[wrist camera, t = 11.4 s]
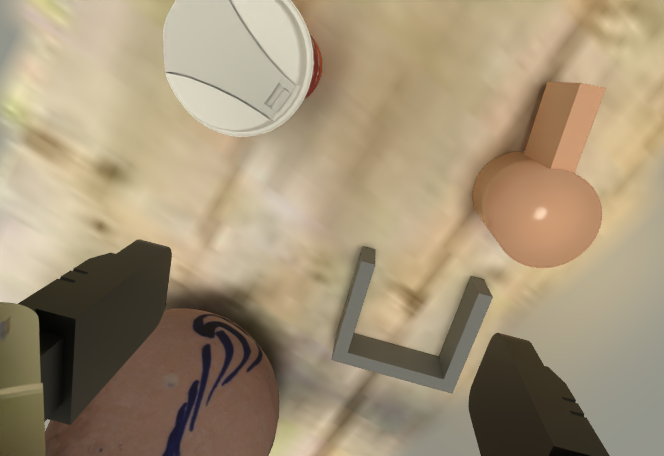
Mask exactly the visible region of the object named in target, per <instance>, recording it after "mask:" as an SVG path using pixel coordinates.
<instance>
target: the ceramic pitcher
mask: <svg viewBox="0 0 664 456" xmlns="http://www.w3.org/2000/svg"><path fill="white" fill-rule="evenodd" d="M278 418H279V391H278V385H277V381H276V377H275V373H274V371H273V368H272V366H271V364H270V362H269V360H268V358H267V356H266V355H265V353H264V352H263V350H262V349H261V347H260V346H259V345H258V344H257V343H256V341H255V340H254V339H253V338H252V337H251V336H250V335H249V334H248V333H247V332H246V331H245V330H243V329H242V328H241V327H240V326H239V325H237V324H235V323H234V322H231V321H230V319H228V318H225V317H223V316H220V315H217V314H214V313H210V312H206V311H201V310H196V309H185V308H177V309H167V310H164V313H163V316H162V318H161V320H160V322H159V324H158V326H157V327H156V329H155V330H154V331H153V332H152V333H151V335H150V336H149V337H148V338H147V339H146V340H145V341H144V342H143V344H142V345H141V346H140V347H139V348H138V349H137V350H136V351H135V353H134V354H133V355H132V356H131V357H130V358H129V359H128V361H127V362H126V363H125V364H124V365H123V366H122V367H121V368H120V370H119V371H118V372H117V373H116V374H115V375H114V376H113V377H112V379H111V380H110V381H109V382H108V383H107V384H106V385H105V386H104V388H103V389H102V390H101V391H100V392H99V393H98V394H97V395H96V397H95V398H94V399H93V400H92V401H91V402H90V403H89V404H88V406H87V407H86V408H85V409H84V410H83V411H82V412H81V413H80V415H79V416H78V417H77V418H76V419H75V420H74V421H73V423H72V424H71V425H68V424H64V423H61V422H57V421H53V420H50V423H49V424H48V427H47V429H46V431H45V451H46V456H268V455H269V453H270V451H271V448H272V446H273V442H274V439H275V434H276V428H277V423H278Z"/></svg>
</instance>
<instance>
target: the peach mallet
mask: <svg viewBox="0 0 664 456" xmlns="http://www.w3.org/2000/svg"><path fill="white" fill-rule="evenodd" d="M605 89H606V88H603V87H598V86H593V85H588V84H583V83H564V82H547V85H546V88H545V91H544V94H543V97H542V100H541V103H540V107H539V110H538V113H537V116H536V119H535V122H534V125H533V128H532V131H531V134H530V137H529V140H528V143H527V146H526V149H525V152H510V153H506V154H503V155H500V156H498V157H497V158H495V159H493V160H492V161H490V162H489V163H488V164H487V165H486V166H485V167H484V168H483V169H482V170H481V172H480V173H479V175H478V177H477V178H476V181H475V184H474V187H473V203H474V207H475V210H476V212H477V214H478V215H479V216H480V218H481V219H482V221H483V222H484V223H485V225H486V226H487V228H488V229H489V230H490V232H491V233H492V235H493V236H494V237H495V239H496V240H497V242H498V243H499V244H500V246H501V247H502V249H503V250H504V251H505V252H506V253H507V255H508V256H510V257H511V258H512V259H514V260H515V261H517V262H519V263H521V264H523V265H526V266H530V267H536V268H549V267H555V266H559V265H562V264H565V263H567V262H570V261H571V260H573V259H575V258H577V257H578V256H579V255H581V254H582V253H583V252H584V251H585V250H586V249H587V248H588V247H589V246H590V245H591V244H592V242H593V241H594V239H595V238H596V236H597V234H598V231H599V228H600V225H601V220H602V207H601V203H600V199H599V197H598V195H597V193H596V191H595V190H594V188H593V187H592V186H591V185H590V184H589V183H588V182H587V181H586V180H584V179H583V178H581V177H580V176H578V175H576V174H574V173H575V170H576V167H577V165H578V162H579V159H580V157H581V154H582V151H583V148H584V146H585V143H586V140H587V138H588V135H589V132H590V130H591V127H592V124H593V122H594V119H595V116H596V113H597V111H598V108H599V105H600V103H601V100H602V97H603V95H604V92H605Z"/></svg>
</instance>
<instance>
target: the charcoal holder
mask: <svg viewBox="0 0 664 456" xmlns="http://www.w3.org/2000/svg"><path fill="white" fill-rule="evenodd" d="M374 267H375V249H371V248H367V247H364V246H363V247H362V251H361V254H360V257H359V261H358V264H357V267H356V271H355V274H354V277H353V281H352V284H351V288H350V291H349V294H348V298H347V301H346V304H345V308H344V311H343V314H342V318H341V321H340V324H339V328H338V331H337V334H336V338H335V343H334V349H333V354H332V360H333V361H337V362H341V363H344V364H348V365H351V366H355V367H358V368H362V369H366V370H369V371H373V372H376V373H380V374H384V375H387V376H391V377H394V378H398V379H402V380H405V381H409V382H412V383H416V384H420V385H423V386H427V387H430V388H434V389H438V390H441V391H445V392H448V393H453V391H454V388H455V386H456V383H457V381H458V379H459V376H460V374H461V372H462V369H463V367H464V364H465V362H466V360H467V357H468V355H469V352H470V350H471V348H472V345H473V343H474V341H475V338H476V336H477V333H478V331H479V329H480V326H481V324H482V322H483V319H484V317H485V314H486V312H487V310H488V307H489V305H490V303H491V300H492V298H493V297H492V295H491V293H490V291H489V289H488V287H487V285H486V283H485V281H484V279H480V278H477V277H473V276H471V277H470V280H469V282H468V285H467V287H466V290H465V292H464V295H463V298H462V300H461V303H460V305H459V308H458V310H457V313H456V315H455V318H454V320H453V323H452V325H451V328H450V330H449V333H448V335H447V338H446V341H445V343H444V346H443V348H442V351H441V353H440V356H439V357H437V356H434V355H430V354H427V353H423V352H419V351H416V350H412V349H409V348H405V347H401V346H398V345H394V344H391V343H387V342H383V341H380V340H376V339H373V338H369V337H365V336H362V335H358V334H355V333H354V331H355V328H356V324H357V321H358V318H359V315H360V312H361V308H362V305H363V302H364V299H365V296H366V292H367V289H368V286H369V283H370V280H371V276H372V273H373V270H374Z"/></svg>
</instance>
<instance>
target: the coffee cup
mask: <svg viewBox="0 0 664 456" xmlns="http://www.w3.org/2000/svg"><path fill="white" fill-rule="evenodd" d="M163 56H164V64H165V74H166V78H167V80H168V82H169V85H170V87H171V89H172V91H173V92H174V94H175V96H176V97H177V99H178V100H179V102H180V103H181V104H182V106H183V107H184V108H185V109H186V111H187V112H188V113H189V114H190V115H191V116H193V117H194V118H195V119H196V120H197V121H198V122H200V123H201V124H203V125H204V126H206V127H208V128H210V129H212V130H214V131H216V132H218V133H222V134H225V135H229V136H236V137H251V136H257V135H261V134H264V133H267V132H270V131H272V130H274V129H276V128H277V127H279V126H281V125H282V124H283V123H285V122H286V121H287V120H288V119H290V118H291V116H292V115H293V114H294V113H295V112H296V111H297V110H298V108H299V107H300V105H301V104H302V102H303V100H304V99H306V98H307V97H308V96H309V95H310V94H311V93H312V92H313V90H314V89H315V88H316V86H317V84H318V82H319V80H320V76H321V72H322V59H321V54H320V51H319V48H318V46H317V44H316V42H315V41H314V39H313V38H312V36H311V35H310V34H309V31H308V28H307V25H306V23H305V21H304V19H303V17H302V15H301V13H300V12H299V10H298V9H297V8H296V6H295V5H294V4H293V2H292V1H291V0H176V1H175V2H174V4H173V5H172V7H171V9H170V11H169V13H168V15H167V18H166V21H165V24H164V27H163Z"/></svg>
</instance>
